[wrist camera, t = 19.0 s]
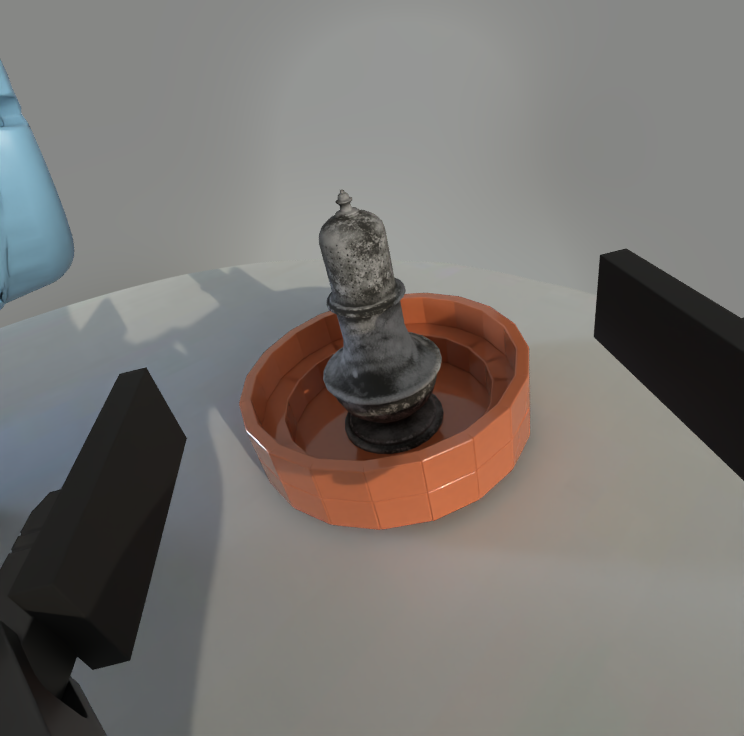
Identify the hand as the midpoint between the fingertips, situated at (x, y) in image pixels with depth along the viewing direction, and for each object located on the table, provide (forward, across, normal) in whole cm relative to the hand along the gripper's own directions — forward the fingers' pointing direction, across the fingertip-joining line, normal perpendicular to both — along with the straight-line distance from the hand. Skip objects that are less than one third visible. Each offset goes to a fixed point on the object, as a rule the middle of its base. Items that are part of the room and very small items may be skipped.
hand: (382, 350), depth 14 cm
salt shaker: (+8, 0, -10) cm, 12 cm away
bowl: (+8, 0, -10) cm, 13 cm away
